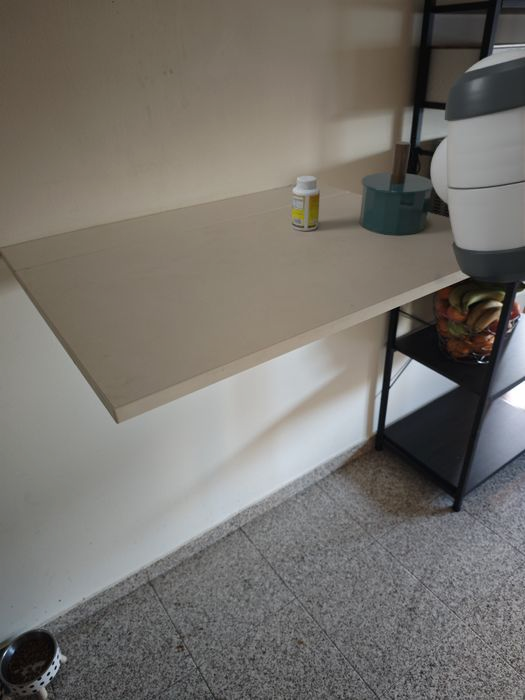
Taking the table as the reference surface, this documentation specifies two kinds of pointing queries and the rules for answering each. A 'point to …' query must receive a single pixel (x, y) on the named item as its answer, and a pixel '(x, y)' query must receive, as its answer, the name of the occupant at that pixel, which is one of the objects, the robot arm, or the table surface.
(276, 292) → the table surface
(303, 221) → the supplement bottle
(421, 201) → the pot
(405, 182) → the lid
